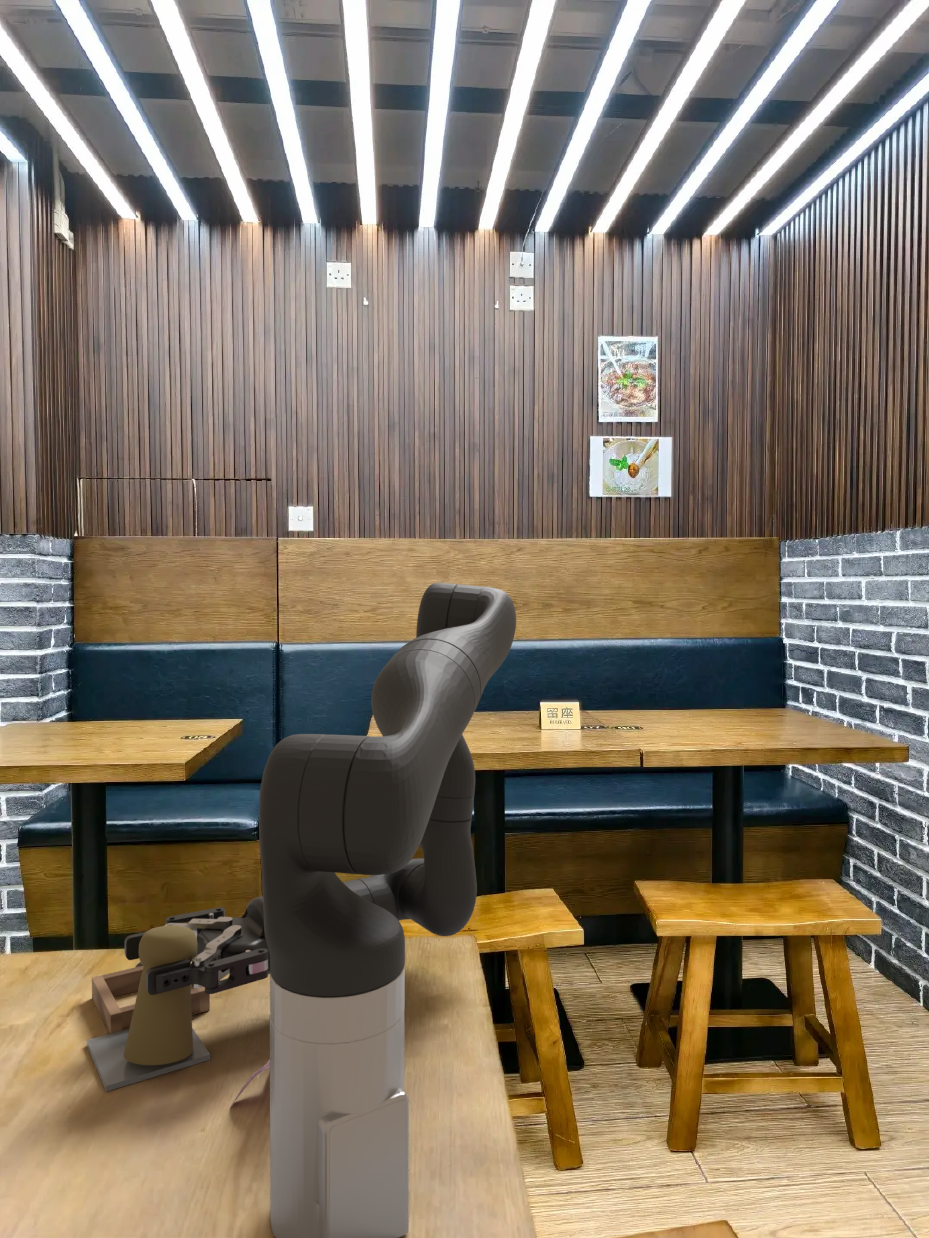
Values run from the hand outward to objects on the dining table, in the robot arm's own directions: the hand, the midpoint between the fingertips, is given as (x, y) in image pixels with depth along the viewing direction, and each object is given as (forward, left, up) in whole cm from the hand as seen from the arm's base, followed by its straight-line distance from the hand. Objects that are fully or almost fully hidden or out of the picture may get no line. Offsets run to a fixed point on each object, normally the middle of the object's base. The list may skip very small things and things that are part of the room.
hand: (135, 964), depth 77 cm
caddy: (+10, -3, -9) cm, 13 cm away
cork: (-2, -1, -8) cm, 8 cm away
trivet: (0, -1, -9) cm, 9 cm away
